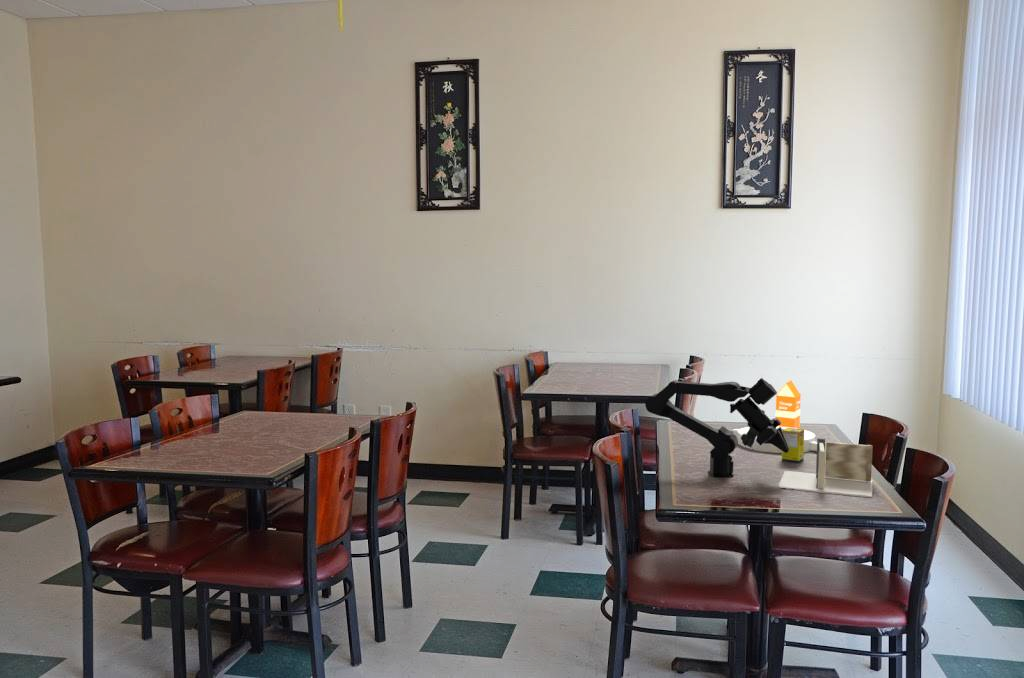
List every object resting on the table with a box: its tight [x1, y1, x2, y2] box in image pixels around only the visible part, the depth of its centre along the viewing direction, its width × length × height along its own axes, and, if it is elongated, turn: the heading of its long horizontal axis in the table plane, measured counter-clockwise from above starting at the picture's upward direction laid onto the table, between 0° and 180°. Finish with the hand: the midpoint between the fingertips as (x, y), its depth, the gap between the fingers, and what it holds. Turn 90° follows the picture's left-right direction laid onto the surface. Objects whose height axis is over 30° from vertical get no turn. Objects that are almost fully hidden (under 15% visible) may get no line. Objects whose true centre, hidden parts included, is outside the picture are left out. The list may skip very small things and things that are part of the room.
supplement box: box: [781, 428, 805, 464], centre depth 300 cm, size 6×6×11 cm
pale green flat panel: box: [818, 443, 826, 488], centre depth 267 cm, size 2×13×11 cm, turn 162°
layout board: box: [777, 470, 874, 499], centre depth 269 cm, size 27×21×1 cm
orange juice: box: [775, 380, 801, 429], centre depth 352 cm, size 8×9×20 cm
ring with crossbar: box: [731, 426, 817, 454], centre depth 326 cm, size 28×28×5 cm
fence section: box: [815, 437, 874, 482], centre depth 272 cm, size 16×2×13 cm, turn 67°
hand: (787, 451), depth 272 cm, fingers closed
